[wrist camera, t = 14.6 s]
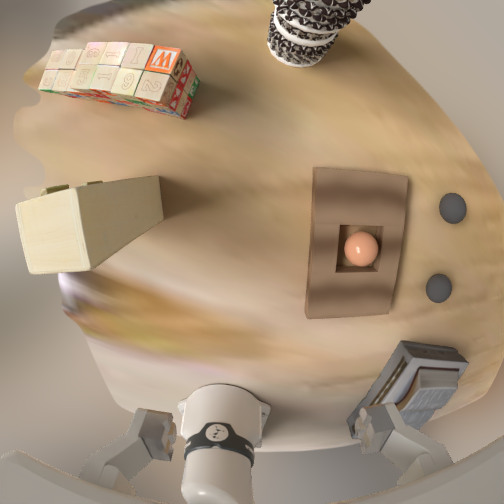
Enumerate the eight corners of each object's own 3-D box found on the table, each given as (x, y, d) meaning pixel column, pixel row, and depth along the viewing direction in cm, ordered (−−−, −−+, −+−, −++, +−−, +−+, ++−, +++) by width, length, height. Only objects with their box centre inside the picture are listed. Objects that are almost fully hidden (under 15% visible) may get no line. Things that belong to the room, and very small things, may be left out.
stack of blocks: (71, 98, 33) (23, 86, 21) (84, 64, 31) (40, 43, 19) (186, 120, 35) (159, 102, 23) (201, 80, 33) (182, 47, 21)
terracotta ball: (366, 259, 41) (381, 270, 36) (337, 260, 41) (350, 272, 36) (370, 228, 40) (386, 235, 35) (340, 227, 39) (354, 235, 34)
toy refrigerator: (159, 169, 37) (75, 178, 17) (165, 219, 39) (92, 273, 19) (111, 177, 37) (12, 197, 17) (118, 225, 39) (28, 277, 19)
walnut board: (382, 306, 44) (388, 313, 41) (304, 311, 43) (307, 319, 41) (399, 175, 37) (407, 176, 35) (313, 167, 37) (317, 167, 34)
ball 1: (438, 294, 43) (452, 306, 38) (418, 296, 43) (432, 309, 38) (444, 269, 42) (459, 279, 37) (424, 270, 42) (439, 281, 37)
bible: (463, 351, 49) (484, 374, 39) (395, 427, 56) (406, 453, 46) (410, 324, 45) (435, 353, 36) (330, 416, 52) (340, 449, 43)
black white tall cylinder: (339, 58, 32) (428, -30, 8) (285, 79, 33) (333, -26, 9) (307, 13, 29) (356, -94, 5) (253, 32, 31) (257, -90, 7)
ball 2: (452, 220, 39) (469, 227, 34) (432, 219, 39) (449, 226, 34) (455, 192, 38) (473, 196, 33) (435, 189, 37) (453, 193, 33)
